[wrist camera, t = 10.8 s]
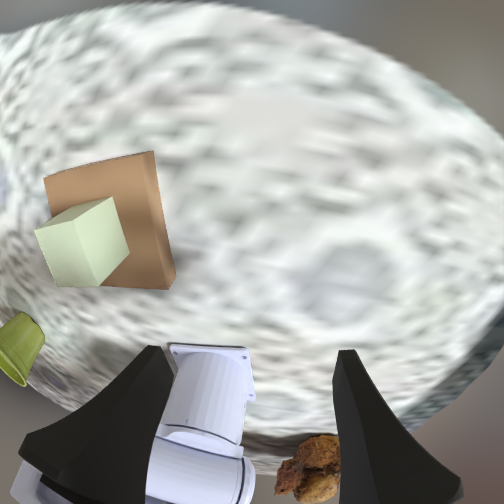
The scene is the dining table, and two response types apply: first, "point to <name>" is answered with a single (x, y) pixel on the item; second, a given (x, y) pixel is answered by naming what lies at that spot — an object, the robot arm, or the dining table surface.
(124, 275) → the tan block
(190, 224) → the dining table surface
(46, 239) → the sage cube
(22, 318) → the plant pot
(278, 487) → the seed pod
